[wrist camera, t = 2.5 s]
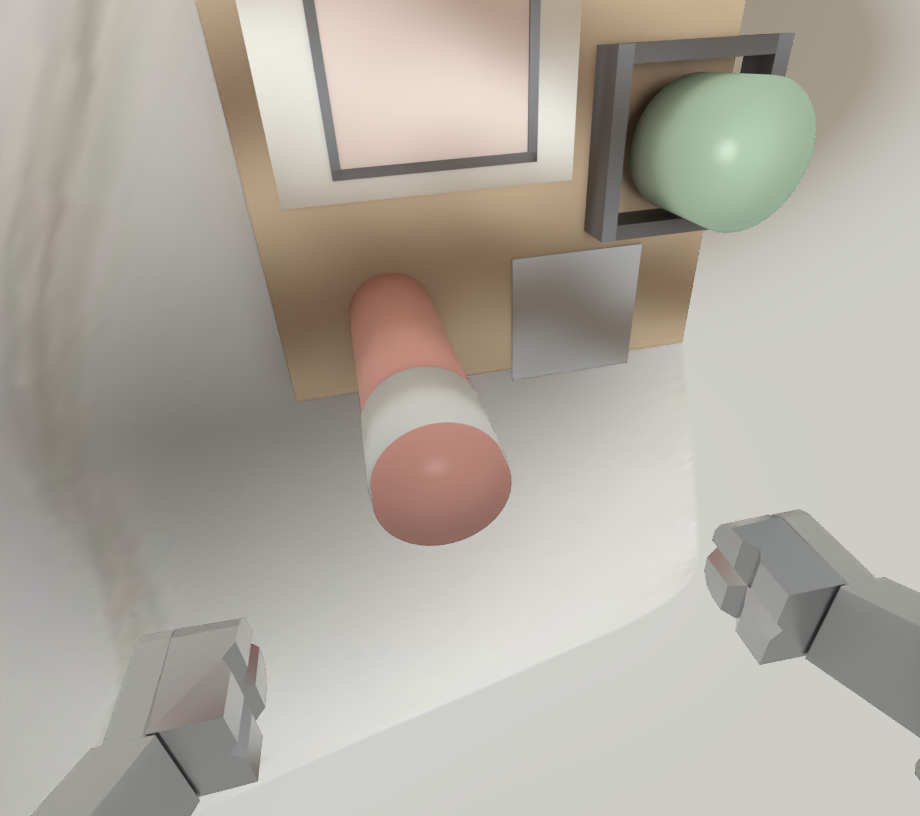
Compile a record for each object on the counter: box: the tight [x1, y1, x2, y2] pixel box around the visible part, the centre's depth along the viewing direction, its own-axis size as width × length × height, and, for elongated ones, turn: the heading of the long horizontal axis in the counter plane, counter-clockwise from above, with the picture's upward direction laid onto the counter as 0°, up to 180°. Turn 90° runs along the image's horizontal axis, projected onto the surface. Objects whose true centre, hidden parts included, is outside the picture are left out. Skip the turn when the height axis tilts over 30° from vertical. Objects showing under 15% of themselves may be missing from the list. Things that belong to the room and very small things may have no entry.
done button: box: [630, 72, 816, 233], centre depth 17 cm, size 4×4×3 cm
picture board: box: [195, 0, 795, 402], centre depth 17 cm, size 20×17×3 cm
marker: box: [349, 273, 511, 546], centre depth 16 cm, size 3×3×10 cm
